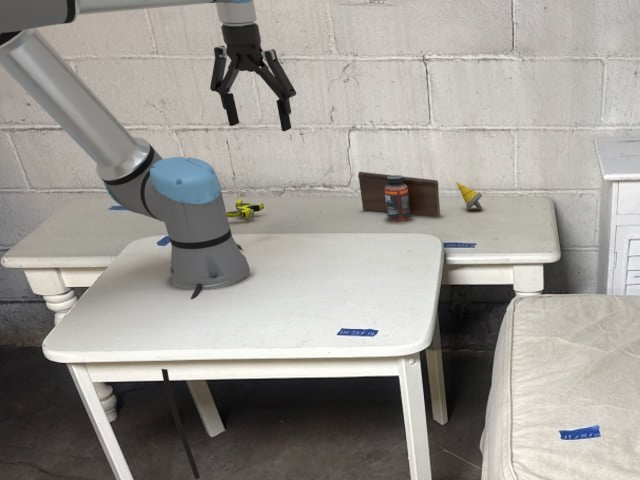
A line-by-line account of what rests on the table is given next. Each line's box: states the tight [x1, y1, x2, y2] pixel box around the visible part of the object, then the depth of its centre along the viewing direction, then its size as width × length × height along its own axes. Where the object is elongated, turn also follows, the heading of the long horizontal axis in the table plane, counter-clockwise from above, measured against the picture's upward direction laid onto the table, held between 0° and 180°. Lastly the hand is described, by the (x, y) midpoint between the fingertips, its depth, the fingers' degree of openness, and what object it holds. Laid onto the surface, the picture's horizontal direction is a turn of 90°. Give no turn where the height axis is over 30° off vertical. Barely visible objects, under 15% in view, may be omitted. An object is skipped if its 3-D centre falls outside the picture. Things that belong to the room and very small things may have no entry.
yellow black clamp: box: [226, 198, 265, 220], centre depth 190 cm, size 12×4×7 cm
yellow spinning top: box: [456, 182, 483, 210], centre depth 197 cm, size 5×5×10 cm
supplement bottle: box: [385, 174, 411, 223], centre depth 188 cm, size 6×6×11 cm
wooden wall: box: [357, 171, 441, 218], centre depth 193 cm, size 2×22×10 cm, turn 74°
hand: (260, 127), depth 166 cm, fingers open, 13 cm apart
